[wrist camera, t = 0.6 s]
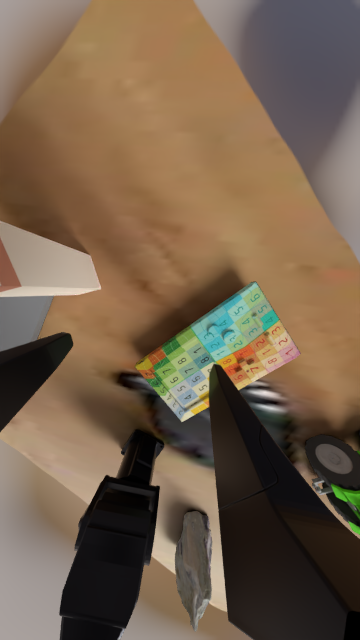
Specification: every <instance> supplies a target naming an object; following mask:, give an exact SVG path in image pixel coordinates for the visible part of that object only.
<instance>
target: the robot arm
mask: <svg viewBox="0 0 360 640" xmlns="http://www.w3.org/2000/svg"><path fill="white" fill-rule="evenodd" d="M72 347H73V341H72V337H71V335H70V334H69V333H65V332H61V333H58V334H55V335H51V336H48V337H45V338H42V339H39V340H35V341H32V342H29V343H26V344H23V345H20V346H16V347H13V348H10V349H7V350H4V351H0V432H1V431H2V430H3V428H4V427H5V426H6V425H7V424H8V423H9V422H10V421H11V419H12V418H13V417H14V416H15V415H16V414H17V413H18V412H19V410H20V409H21V408H22V407H23V406H24V405H25V404H26V403H27V401H28V400H29V399H30V398H31V397H32V396H33V395H34V394H35V392H36V391H37V390H38V389H39V388H40V387H41V386H42V385H43V383H44V382H45V381H46V380H47V379H48V378H49V377H50V376H51V374H52V373H53V372H54V371H55V370H56V369H57V367H58V366H59V365H60V363H61V362H62V361H63V359H64V358H65V356H66V355H67V354H68V352H69V351H70V350H71V348H72ZM209 409H210V420H211V432H212V443H213V454H214V465H215V476H216V488H217V499H218V509H219V522H220V534H221V545H222V556H223V567H224V579H225V590H226V601H227V612H228V620H229V622H230V623H232V624H233V625H234V626H236V627H237V628H238V629H239V630H241V631H242V632H244V633H245V634H246V635H248V636H249V637H250V638H252V639H253V640H360V539H359V538H358V537H357V536H355V535H354V534H353V533H352V532H351V531H350V530H349V529H348V528H347V527H345V526H344V525H343V524H342V523H341V522H340V521H339V520H338V519H337V518H336V517H335V516H334V514H333V513H332V512H331V511H330V510H329V509H328V508H327V507H326V505H325V504H324V503H323V502H322V501H321V499H320V498H319V497H318V496H317V494H316V493H315V492H314V491H313V489H312V488H311V487H310V486H309V484H308V483H307V482H306V481H305V479H304V478H303V477H302V476H301V474H300V473H299V472H298V471H297V469H296V468H295V467H294V466H293V464H292V463H291V462H290V461H289V459H288V458H287V457H286V455H285V454H284V453H283V452H282V450H281V449H280V448H279V446H278V445H277V444H276V442H275V441H274V440H273V438H272V437H271V435H270V434H269V433H268V431H267V430H266V428H265V427H264V426H263V424H261V421H260V420H259V419H258V417H257V416H256V414H255V413H254V412H253V410H252V409H251V407H250V406H249V404H248V403H247V402H246V400H245V399H244V397H243V396H242V395H241V393H240V392H239V390H238V389H237V387H236V386H235V385H234V383H233V382H232V380H231V379H230V377H229V376H228V375H227V373H226V372H225V370H224V369H223V368H222V366H221V365H219V364H213V366H212V368H211V371H210V374H209ZM163 448H164V443H163V442H161V441H159V440H157V439H155V438H153V437H151V436H149V435H147V434H145V433H143V432H141V431H139V430H135V431H134V432H133V434H132V435H131V437H130V438H129V440H128V441H127V443H126V444H125V446H124V447H123V449H122V451H121V454H122V455H124V458H123V461H122V463H121V466H120V469H119V471H118V474H117V477H116V478H114V477H109V475H106V476H105V478H104V480H103V481H102V482H101V483H100V485H99V487H98V489H97V491H96V493H95V495H94V497H93V499H92V501H91V503H90V505H89V506H88V508H87V509H86V511H85V513H84V515H83V516H82V517H81V519H80V521H79V525H78V527H79V533H78V537H77V540H76V544H75V551H77V553H76V556H75V559H74V562H73V564H72V567H71V570H70V572H69V575H68V578H67V581H66V584H65V586H64V589H63V593H62V599H61V605H60V616H62V621H61V632H60V640H120V639H121V637H122V634H123V632H124V630H125V628H126V626H127V624H128V622H129V619H130V617H131V615H132V612H133V610H134V608H135V605H136V603H137V600H138V596H139V591H140V585H141V578H142V572H143V567H144V565H149V564H150V560H151V554H152V548H153V542H154V535H155V528H156V519H157V510H158V500H159V490H160V486H152V485H151V482H152V476H153V470H154V465H155V459H156V458H157V456H158V455H159V454H160V452H161V451H162V450H163Z"/></svg>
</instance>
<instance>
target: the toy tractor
mask: <svg viewBox="0 0 360 640" xmlns="http://www.w3.org/2000/svg"><path fill="white" fill-rule="evenodd" d="M359 432H360V431H359ZM359 434H360V433H359ZM305 449H306V455H307V457H308V459H309V461H310V464H311V466H312V468H313V469H314V471H315V472H316V473H317V474H318V476H319V478H315V479H312V481H313V482H314V483H312V486H313V488H315V486H316V488H317V489H316V488H315V489H316V492H317V493H319V494H320V495H323V494H326V495H327V497H328V500H329V501H330V503H331V505H333V507H334V508H335V510H336V511H337V513H338V514H340V515H341V516H342V517H343V519H344V520H345V521H347V522H348V523H349V524H350V526H351V528H352V530H353V531H354V532H356V533H358V534H359V535H360V452H359V451H354V450H353V449H352V447H351V446H350V445H348V444H345V443H344V442H343V441H342V440H340V439H336V438H334V437H332V436H325V435H322V434H321V435H318V436H315V437H312V438H309V440H307V441H306V445H305ZM318 483H322V484H323V485H322V486H323V489H320V487H319V486H318Z"/></svg>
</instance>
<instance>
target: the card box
mask: <svg viewBox="0 0 360 640" xmlns="http://www.w3.org/2000/svg"><path fill="white" fill-rule="evenodd" d="M99 289H101V286H100V283H99V280H98V277H97V274H96V271H95V268H94V265H93V262H92V259H91V256H90V255H88V254H85V253H83V252H80V251H78V250H75V249H72V248H70V247H67V246H65V245H62V244H59V243H57V242H54V241H52V240H49V239H46V238H44V237H41V236H38V235H36V234H33V233H31V232H28V231H25V230H23V229H20V228H18V227H15V226H12V225H10V224H7V223H5V222H2V221H0V297H18V296H53V295H79V294H83V293H87V292H91V291H95V290H99Z"/></svg>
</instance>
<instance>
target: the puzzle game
mask: <svg viewBox="0 0 360 640" xmlns="http://www.w3.org/2000/svg"><path fill="white" fill-rule="evenodd" d="M299 354H300V351H299V350H298V348H297V346H296V345H295V343H294V342H293V340H292V338H291V337H290V335H289V334H288V332H287V330H286V329H285V327H284V326H283V324H282V322H281V321H280V319H279V318H278V316H277V314H276V313H275V311H274V310H273V308H272V306H271V305H270V303H269V302H268V300H267V298H266V297H265V295H264V294H263V292H262V290H261V289H260V287H259V286H258V284H257V282H251V283H250V284H248V285H247V286H245V287H244V288H242V289H241V290H240V291H238V292H237V293H235V294H234V295H232V296H231V297H230V298H228V299H227V300H225V301H224V302H222V303H221V304H220V305H218V306H217V307H215V308H214V309H212V310H211V311H210V312H208V313H207V314H205V315H204V316H203V317H201V318H200V319H198V320H197V321H195V322H194V323H193V324H191V325H190V326H188V327H187V328H185V329H184V330H183V331H181V332H180V333H178V334H177V335H175V336H174V337H173V338H171V339H170V340H168V341H167V342H165V343H164V344H163V345H161V346H160V347H158V348H157V349H155V350H154V351H153V352H151V353H150V354H148V355H147V356H145V357H144V358H143V359H141V360H140V361H139V362H137V363H136V365H135V367H136V369H137V370H138V371H139V372H140V373H141V374H142V376H143V377H144V378H145V379H146V380H147V381H148V383H149V384H150V385H151V386H152V387H153V388H154V390H155V391H156V392H157V393H158V394H159V396H160V397H161V398H162V399H163V400H164V401H165V403H166V404H167V405H168V406H169V407H170V408H171V410H172V411H173V412H174V413H175V414H176V415H177V417H178V418H179V419H180V420H181V421H182V422H183V421H185V420H186V419H188V418H190V417H192V416H193V415H195V414H197V413H199V412H200V411H202V410H204V409H206V408H208V407H209V374H210V371H211V368H212V366H213V364H219V365H221V366H222V368H223V369H224V370H225V372H226V373H227V375H228V376H229V377H230V379H231V380H232V382H233V383H234V385H235V386H236V387H237V389H238V390H239V389H241V388H243V387H245V386H247V385H248V384H250V383H252V382H254V381H255V380H257V379H259V378H261V377H262V376H264V375H266V374H268V373H270V372H271V371H273V370H275V369H277V368H278V367H280V366H282V365H284V364H285V363H287V362H289V361H291V360H293V359H294V358H296V357H297V356H298V355H299Z"/></svg>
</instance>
